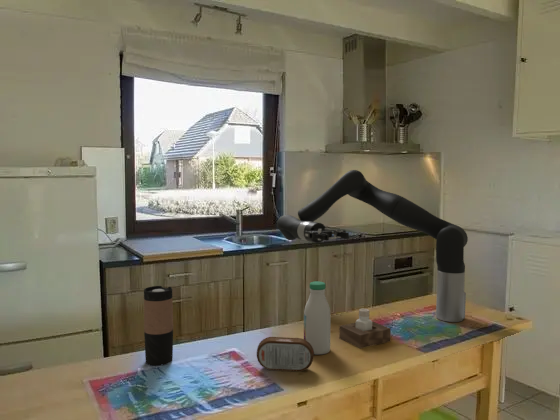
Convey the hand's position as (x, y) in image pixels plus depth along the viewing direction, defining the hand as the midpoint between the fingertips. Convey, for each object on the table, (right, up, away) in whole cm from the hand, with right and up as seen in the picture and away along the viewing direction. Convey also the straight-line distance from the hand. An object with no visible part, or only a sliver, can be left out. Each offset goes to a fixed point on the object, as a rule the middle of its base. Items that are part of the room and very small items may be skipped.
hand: (338, 236), depth 160 cm
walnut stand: (+6, -31, -15) cm, 35 cm away
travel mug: (-53, -32, -32) cm, 70 cm away
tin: (-19, -33, -38) cm, 53 cm away
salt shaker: (+6, -31, -15) cm, 35 cm away
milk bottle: (-9, -32, -24) cm, 41 cm away
